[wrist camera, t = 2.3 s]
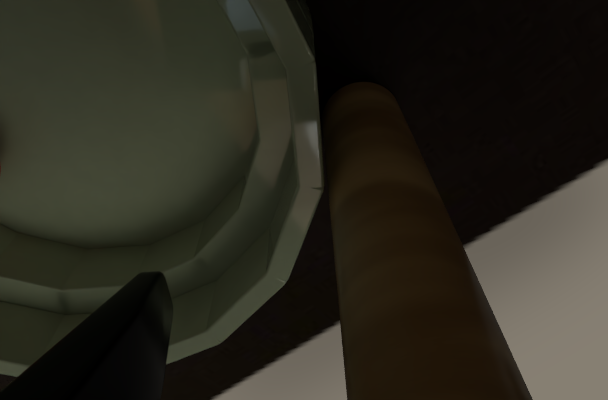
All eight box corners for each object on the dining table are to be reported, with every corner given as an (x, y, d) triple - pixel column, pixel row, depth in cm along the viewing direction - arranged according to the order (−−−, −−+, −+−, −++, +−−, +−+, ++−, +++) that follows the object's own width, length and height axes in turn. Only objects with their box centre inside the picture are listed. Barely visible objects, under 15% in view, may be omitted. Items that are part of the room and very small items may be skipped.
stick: (411, 133, 16) (615, 583, 6) (342, 164, 16) (410, 624, 6) (381, 66, 15) (569, 476, 4) (308, 102, 15) (324, 538, 5)
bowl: (389, 170, 16) (420, 268, 12) (55, 316, 20) (-13, 433, 16) (114, -401, 10) (-31, -625, 6) (-321, -35, 13) (-618, 2, 9)
